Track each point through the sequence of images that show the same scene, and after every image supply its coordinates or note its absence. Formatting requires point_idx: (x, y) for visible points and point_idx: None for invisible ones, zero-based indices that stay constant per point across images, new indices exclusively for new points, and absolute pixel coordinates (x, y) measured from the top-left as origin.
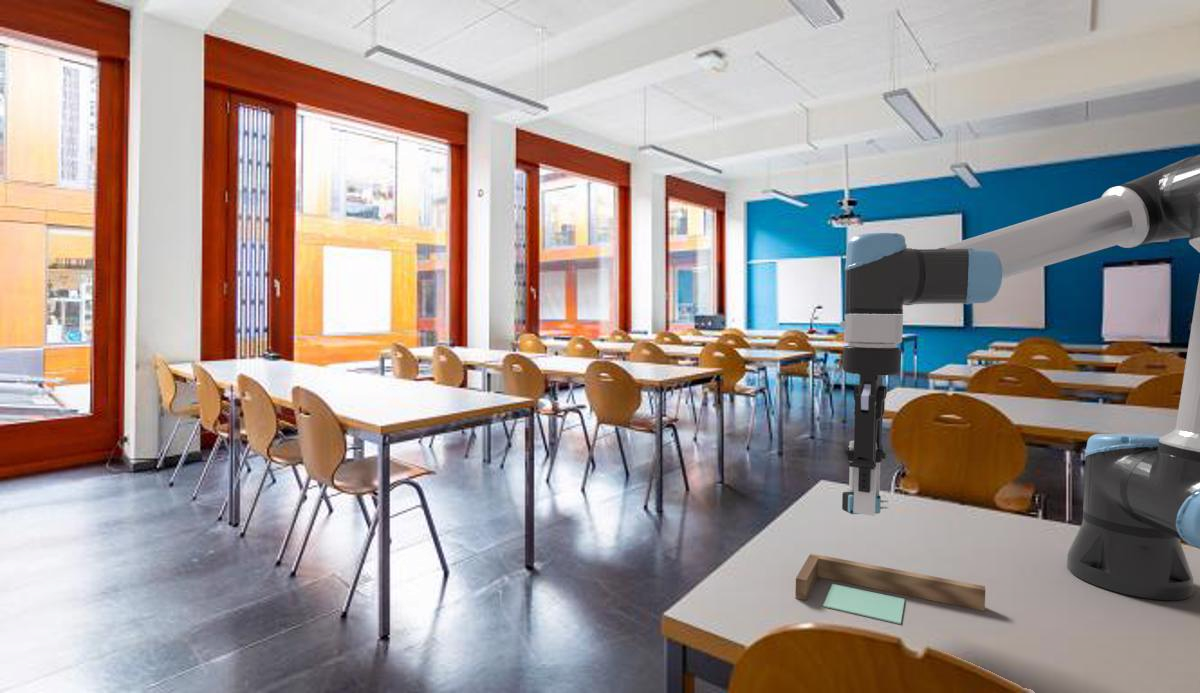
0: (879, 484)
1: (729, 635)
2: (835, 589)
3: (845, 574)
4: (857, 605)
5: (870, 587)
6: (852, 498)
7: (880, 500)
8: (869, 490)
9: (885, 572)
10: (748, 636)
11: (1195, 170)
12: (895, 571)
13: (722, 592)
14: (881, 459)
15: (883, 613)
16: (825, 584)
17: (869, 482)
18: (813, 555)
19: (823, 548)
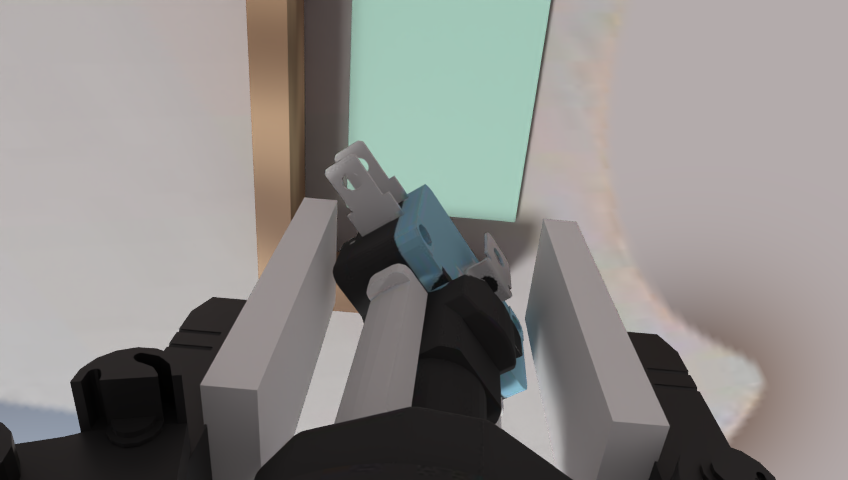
0: (284, 259)
1: (748, 395)
2: None
3: (298, 180)
4: (475, 130)
5: (304, 93)
6: (518, 370)
7: (415, 213)
8: (661, 344)
9: (289, 57)
10: (743, 360)
11: None
12: (270, 20)
13: (526, 442)
14: (426, 422)
15: (501, 51)
16: (350, 224)
17: (686, 387)
18: None
19: (50, 249)
